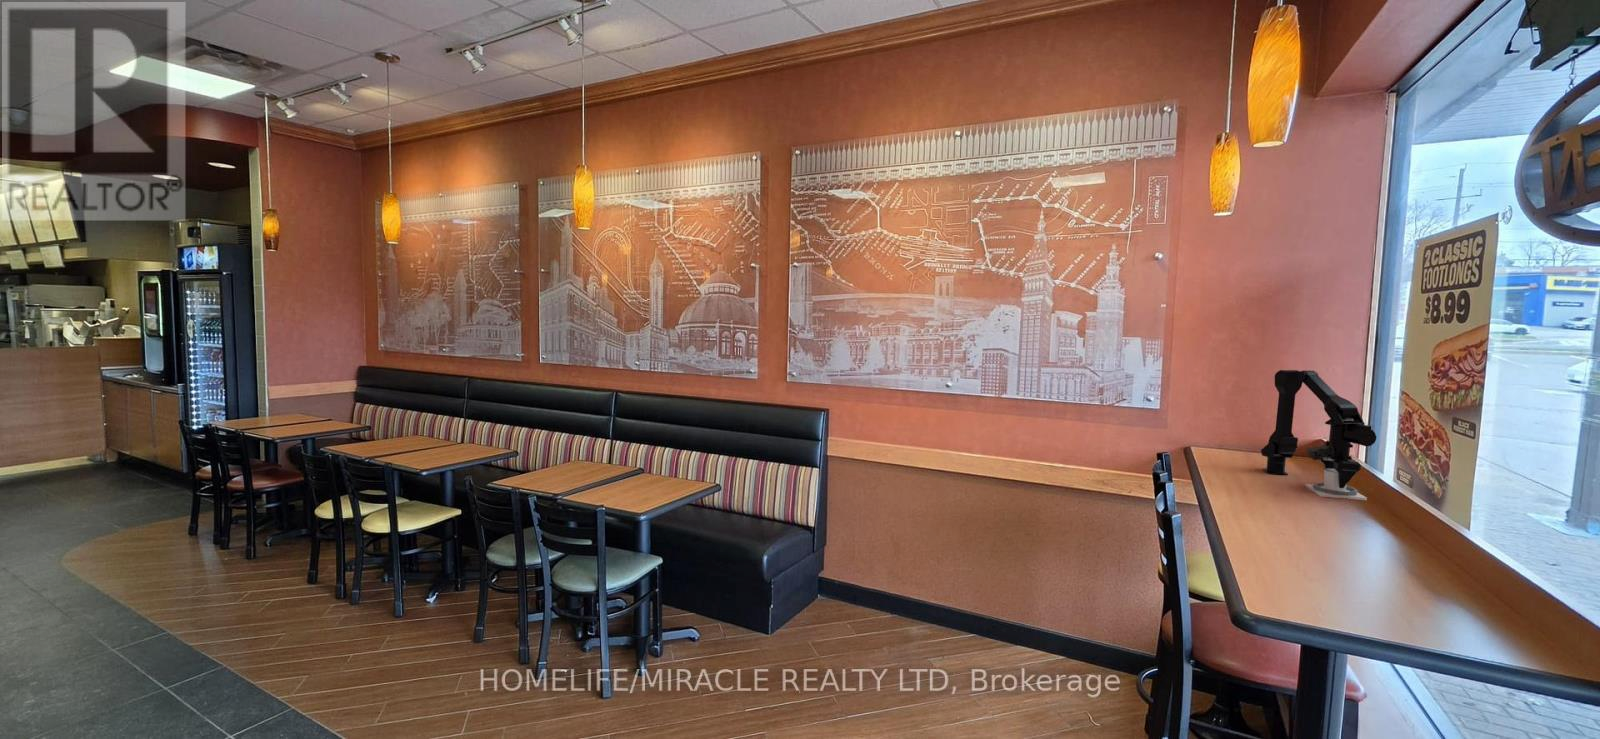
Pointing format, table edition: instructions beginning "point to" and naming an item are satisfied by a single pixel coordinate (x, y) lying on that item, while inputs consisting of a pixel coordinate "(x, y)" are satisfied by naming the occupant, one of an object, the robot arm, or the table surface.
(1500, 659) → the table surface
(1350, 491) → the coaster
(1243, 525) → the table surface
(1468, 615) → the table surface
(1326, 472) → the white cup
